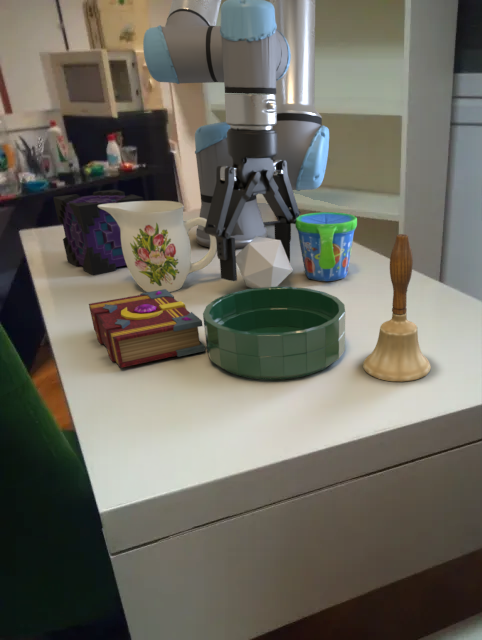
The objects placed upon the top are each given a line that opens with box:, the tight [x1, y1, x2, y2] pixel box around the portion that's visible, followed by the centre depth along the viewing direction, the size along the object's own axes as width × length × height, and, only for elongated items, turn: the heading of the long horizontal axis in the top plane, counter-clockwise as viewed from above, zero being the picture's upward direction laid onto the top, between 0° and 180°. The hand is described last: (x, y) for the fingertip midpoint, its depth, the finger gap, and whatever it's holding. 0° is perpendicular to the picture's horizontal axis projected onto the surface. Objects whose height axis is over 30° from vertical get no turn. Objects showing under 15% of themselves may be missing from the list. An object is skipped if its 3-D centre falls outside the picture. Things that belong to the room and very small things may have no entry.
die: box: [236, 236, 294, 289], centre depth 99 cm, size 8×9×10 cm
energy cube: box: [52, 189, 144, 276], centre depth 112 cm, size 12×12×12 cm
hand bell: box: [362, 233, 432, 383], centre depth 69 cm, size 8×8×16 cm
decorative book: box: [88, 289, 207, 369], centre depth 80 cm, size 11×16×5 cm
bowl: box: [202, 286, 346, 381], centre depth 76 cm, size 18×18×6 cm
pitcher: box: [98, 200, 217, 293], centre depth 98 cm, size 11×18×14 cm, turn 104°
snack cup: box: [294, 211, 358, 282], centre depth 103 cm, size 16×10×10 cm
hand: (257, 270), depth 98 cm, fingers open, 13 cm apart
